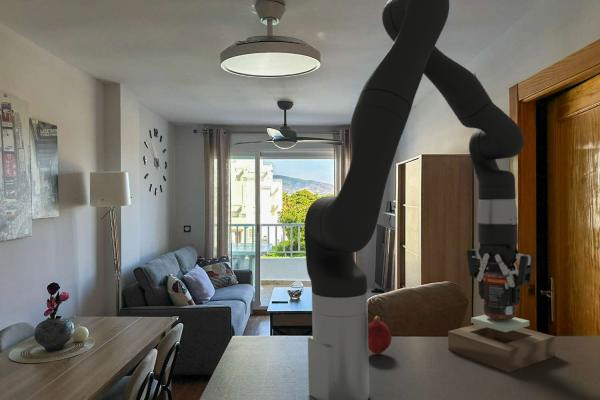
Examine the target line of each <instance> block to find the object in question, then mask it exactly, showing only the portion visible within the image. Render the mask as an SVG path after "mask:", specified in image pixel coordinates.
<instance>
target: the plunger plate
mask: <svg viewBox="0 0 600 400" xmlns="http://www.w3.org/2000/svg"><path fill="white" fill-rule="evenodd" d="M470 323H471V324H473V325H476V324H478V325H481V326H485V327H488V328H492V329H495V330H499V331H502V332H508V331H512V330H516V329H519V328H526V327H529V326H530V320H528V319H524V318H519V317H516V316H515V317H514V318H512V319H494V318H490V317H488V316H486V315H485V314H482V315H478V316H473V317H471V318H470Z"/></svg>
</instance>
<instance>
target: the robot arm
mask: <svg viewBox="0 0 600 400" xmlns="http://www.w3.org/2000/svg"><path fill="white" fill-rule="evenodd" d="M449 11H450V0H388V1H387V2H386V3H385V5H384V7H383V9H382V14H381V15H382V16H381V20H382V25H383V28H384V30H385V32H386V33H387V35H388V37H389V38H390V40H392V42H393V44H392V45H391V47H390V48H389V50H388V51H387V52H386V54H385V55H384V57H382V59H381V60H380V62H379V63H378V64H377V66H375V69H374V70H373V71H372V73H371V74H370V76H369V77H368V79H367V80H366V81H365V83H364V86H363V87H362V89H361V91H360V94H359V97H358V99H357V102H356V104H355V107H354V110H353V113H352V116H351V120H350V131H349V133H350V143H351V161H350V165H349V168H348V171H347V173H346V176H345V178H344V182H343V184H342V186H341V187H340V188H341V189H340V190H339V192H338V194H337V195H326V196H321V197H319V198H317V199H315V200H314V201H313V202H312V203H311V204H310V205H309V207H308V209H307V211H306V214H305V218H304V249H305V262H306V270H307V275H308V277H309V280H310V283H311V319H312V320H311V322H312V323H311V324H312V327H311V328H312V336H309V337H308V338H307V358H308V359H307V360H308V362H307V363H308V364H307V365H308V366H307V367H308V370H307V371H308V395H310V397H312V398H314V399H315V400H368V399H369V398H370V368H369V367H370V365H369V364H370V363H369V362H370V361H369V359H370V357H369V349H368V324H369V321H368V320H369V319H368V317H369V316H368V314H369V313H368V311H369V310H368V309H369V308H368V307H369V305H368V280H367V276H366V274H365V273H364V272H363V271H362V269H360V267H359V266H358V265H357V263H356V261H355V259H354V254H353V253H356V252H360V251H362V250H363V249H364V248H365V247H366V246H368V244H369V243H370V241H371V240H372V238H373V236H374V234H375V231H376V228H377V224H378V220H379V217H380V213H381V207H382V203H383V198H384V193H385V191H386V190H385V189H386V187H387V186H386V185H387V182H388V177H389V175H390V172H391V168H392V165H393V162H394V159H395V156H396V153H397V150H398V146H399V144H400V141H401V139H402V136H403V133H404V131H405V128H406V125H407V122H408V120H409V117H410V113H411V111H412V107H413V104H414V100H415V98H416V94H417V92H418V89H419V86H420V84H421V81H422V80H423V79H422V78H423V76H425V77H426V78H427V79H428V80H429V81H430V82H431V83H432V84H433V86H434V87H435V88H436V89H437V90H438V92H439V93H440V94H441V96H443V98H444V100H445V101H446V103H447V104H448V106H449V108H450V109H451V111H452V112H453V113H454V115H455V117H456V118H457V120H458V121H459V122H460V124H462V126H464V127H466V128H468V129H476V130H474V131H473V133H472V134H471V136H470V139H469V143H468V151H469V156H470V158H471V163H472V165H473V168H474V173H475V175H476V177H477V183H478V186H477V187H478V191H477V192H478V204H477V239H478V240H477V241H478V243H479V248H478V249H477V248H473V249H467V250H466V255H467V256H466V257H467V262H468V263H467V264H468V271H469V276H470V277H471V278H474V279H476V280H477V281H478V294H479V296H480V299H482V300H484V293H483V275H484V273H485V272H487V271H488V270H489V268H488V263H489V262H492V263H498V264H499V266H500V269H501V271H502V273H503V275H504V276H505V277H506V279H507V281H508V283H509V285H510V287H508V293H509V305H512V306H515V307H516V306H518V305H519V303H521V301H522V300H521V299H522V298H521V287H522V286H525V285H530V284H531V280H532V273H533V272H532V271H533V262H534V256H533V255H532V254H524V253H520V252H519V250H518V243H519V235H518V234H519V230H518V229H519V228H518V227H519V226H518V221H519V220H518V207H517V202H516V195H517V194H516V176H515V174H514V173H513V172H512V171H509V170H503V169H500V167H499V166H498V163H497V160H502V159H510V158H514V157H516V156H518V155H519V154H520V153H521V152H522V150H523V148H524V144H525V140H524V139H525V138H524V137H525V136H524V134H523V131H522V129H521V128H520V126H519V125H518V124H517V123H516V122H515V120H514V119H512V118H511V117H510V116H509V115H508V114H507V113H505V112H504V111H503V110H502V109H501V108H500V106H499V107H498V106H497V105H496V104H495V103H494V102H493V101H492V99H491V97H490V96H489V94H488V92H487V91H486V88H485V87H484V86H483V84H482V83H481V81H480V80H479V79H478V77H477V76H476V75H475V74H474V73H473V72H471V71H470V70H469V69H467V68H466V67H465V66H463V65H462V64H460V63H458V62H456V60H453V59H452V58H451V57H449V56H448V55H446V54H445V53H444V52H442V51H441V50H440V49H439V48H438V47H437V46H436V44H437V43H438V39H439V38H440V36H441V35H442V32H443V30H444V27H445V25H446V24H447V20H448V17H449V13H450V12H449ZM481 259H482V260H481ZM516 262H517V264H518V265H519V266H518V267H517V264H516Z"/></svg>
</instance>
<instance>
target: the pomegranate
mask: <svg viewBox="0 0 600 400" xmlns="http://www.w3.org/2000/svg"><path fill="white" fill-rule="evenodd" d="M391 342H392V334H391V331H390V328H389V327H388V326H387V324H386V323H384V322H383V321H382V320H381V318H380V316H378V315H376V316H374V319H373V320H372V321H371V322H370V323H369V322H368V351H371V353H373V354H375V355H376V356H380V355H381V354H382V353H383V352H385V351H386V350H387V349H388V348H389V347H390V345H391V344H392V343H391Z"/></svg>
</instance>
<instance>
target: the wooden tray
mask: <svg viewBox="0 0 600 400" xmlns="http://www.w3.org/2000/svg"><path fill="white" fill-rule="evenodd" d="M447 334H448V336H447V338H448V351H451V352H454V353H455V354H459V355H461V356H463V357H467V358H470V359H472V360H475V361H477V362H481V363H482V364H483V363H484V364H486V365H488V366H492V367H494V368H497V369H499V370H502V371H505V372H507V373H511V372H514V371H517V370H520V369H523V368H525V367H528V366H531V365H535V364H536V363H537V364H538V363H539V362H543V361H545V360H548V359H552V358H554V357H556V336H554V335H551V334H547V333H543V332H540V331H535V330H532V329H528V328H526V327H523V328H519V329H516V330H512V331H508V332H502V331H499V330H495V329H492V328H488V327H485V326H481V325H478V324H473V325H468V326H465V327H464V326H463V327H460V328H455V329H452V330H448V331H447Z"/></svg>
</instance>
